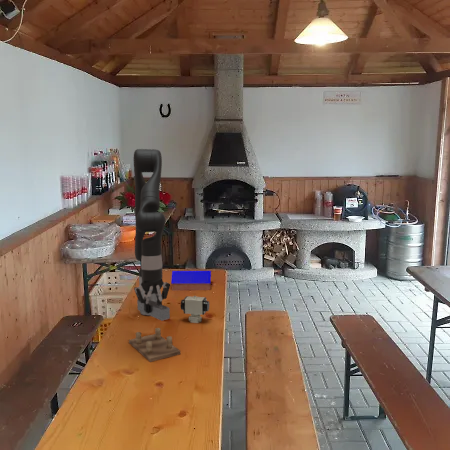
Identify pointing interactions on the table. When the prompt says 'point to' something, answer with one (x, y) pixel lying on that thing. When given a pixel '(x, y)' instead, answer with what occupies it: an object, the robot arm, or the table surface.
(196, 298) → the pneumatic valve
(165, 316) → the bar
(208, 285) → the house
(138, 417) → the table surface
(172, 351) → the cradle
